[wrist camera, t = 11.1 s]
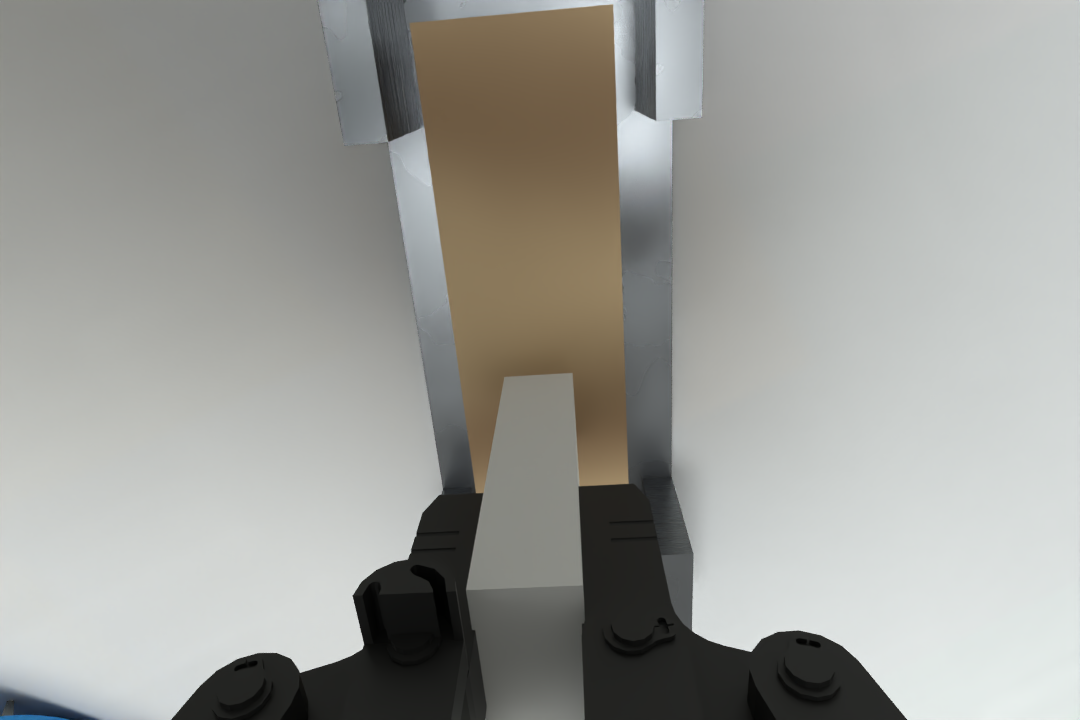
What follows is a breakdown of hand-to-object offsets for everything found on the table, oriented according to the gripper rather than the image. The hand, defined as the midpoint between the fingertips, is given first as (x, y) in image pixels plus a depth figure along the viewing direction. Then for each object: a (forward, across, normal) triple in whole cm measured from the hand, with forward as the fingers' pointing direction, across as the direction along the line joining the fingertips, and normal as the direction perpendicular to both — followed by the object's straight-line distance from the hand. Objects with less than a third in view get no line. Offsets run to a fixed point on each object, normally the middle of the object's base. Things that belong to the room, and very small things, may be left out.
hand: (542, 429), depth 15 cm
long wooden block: (+7, 0, 0) cm, 7 cm away
